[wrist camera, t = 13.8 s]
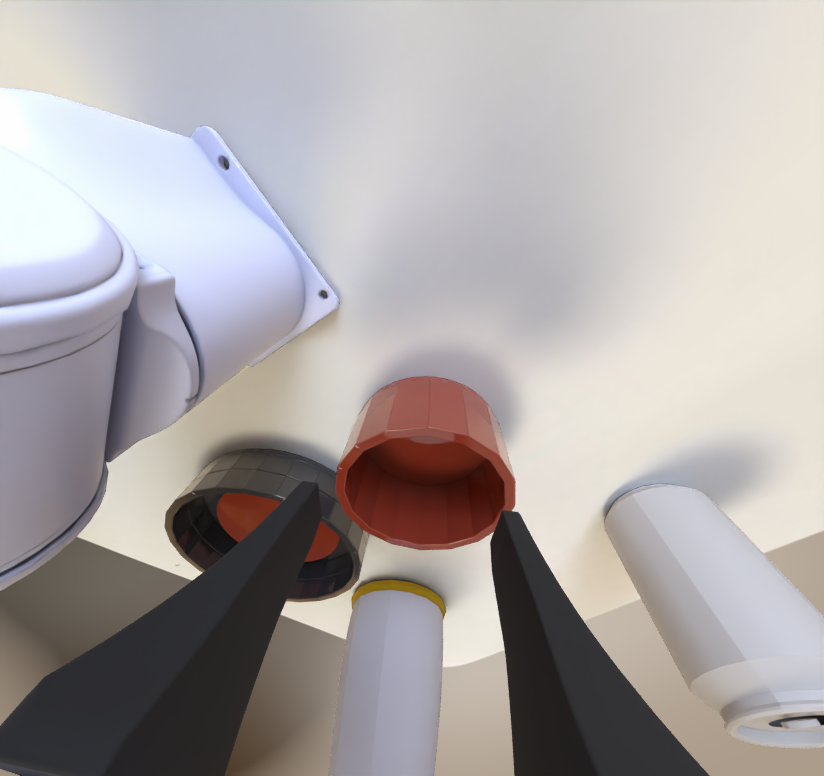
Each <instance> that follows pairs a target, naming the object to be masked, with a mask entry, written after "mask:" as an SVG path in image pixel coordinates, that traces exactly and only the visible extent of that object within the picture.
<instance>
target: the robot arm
mask: <svg viewBox="0 0 824 776" xmlns="http://www.w3.org/2000/svg"><path fill="white" fill-rule="evenodd" d="M225 158H227V159H228V161H229V165H230V167H229V169H228V170H227V169H226V168H225V166H224V159H225ZM322 290H323V291H325V292H326V293H327V295H328V298H324V297H322V295H321V291H322ZM338 307H339V299H338V297H337V296H336V294H335V293H334V291H333V290H332V289H331V287H330V286H329V285H328V283H327V282H326V280H325V279H324V278H323V276H322V275H321V274H320V272H319V271H318V270H317V268H316V267H315V265H314V264H313V263H312V261H311V260H310V259H309V257H308V256H307V254H306V253H305V252H304V250H303V249H302V248H301V246H300V245H299V244H298V242H297V241H296V239H295V238H294V237H293V235H292V234H291V233H290V231H289V230H288V229H287V227H286V226H285V224H284V223H283V222H282V220H281V219H280V218H279V216H278V215H277V213H276V212H275V211H274V209H273V208H272V207H271V205H270V204H269V203H268V201H267V200H266V198H265V197H264V196H263V194H262V193H261V192H260V190H259V189H258V187H257V186H256V185H255V183H254V182H253V181H252V179H251V178H250V177H249V175H248V174H247V172H246V171H245V170H244V168H243V167H242V166H241V164H240V163H239V161H238V160H237V159H236V157H235V156H234V155H233V153H232V152H231V151H230V149H229V148H228V146H227V145H226V144H225V142H224V141H223V140H222V138H221V137H220V136H219V134H218V133H217V132H216V131H215V130H214V129H212V128H210V127H207V126H200V127H198V128H197V129H196V131H195V132H194V133H193V134H192V135H191V137H190V138H189V137H186V136H182V135H179V134H176V133H173V132H170V131H166V130H163V129H160V128H157V127H154V126H151V125H147V124H144V123H141V122H138V121H135V120H131V119H128V118H125V117H122V116H119V115H115V114H112V113H109V112H106V111H103V110H100V109H96V108H93V107H90V106H87V105H84V104H80V103H77V102H74V101H71V100H68V99H64V98H61V97H58V96H55V95H50V94H46V93H42V92H37V91H29V90H21V89H2V88H0V591H1V590H2V589H4V588H6V587H8V586H9V585H11V584H12V583H14V582H16V581H18V580H20V579H22V578H23V577H25V576H27V575H28V574H30V573H32V572H33V571H34V570H36V569H37V568H39V567H40V566H42V565H43V564H44V563H46V562H47V561H49V560H50V559H51V558H53V557H54V556H56V555H57V554H58V553H59V552H60V551H61V550H62V549H63V548H65V547H66V546H67V545H68V544H69V543H70V542H71V541H73V540H74V539H75V538H76V537H77V536H78V534H79V533H80V532H81V531H82V530H83V529H84V528H85V526H86V525H87V524H88V523H89V522H90V521H91V519H92V517H93V516H94V514H95V513H96V511H97V510H98V508H99V506H100V504H101V502H102V499H103V497H104V494H105V492H106V485H107V478H108V469H107V465H106V462H111V461H112V460H114V459H115V458H116V457H118V456H119V455H120V454H122V453H123V452H124V451H126V450H127V449H128V448H130V447H131V446H132V445H134V444H135V443H136V442H138V441H139V440H142V439H144V438H146V437H148V436H151V435H153V434H155V433H157V432H159V431H161V430H163V429H165V428H167V427H169V426H170V425H172V424H173V423H174V422H176V421H177V420H178V419H179V418H181V417H182V416H183V415H185V414H186V413H187V412H189V411H190V410H191V409H192V408H194V407H195V406H196V405H198V404H199V403H200V402H201V401H203V400H204V399H205V398H207V397H208V396H209V395H210V394H212V393H213V392H214V391H215V390H217V389H218V388H219V387H221V386H222V385H223V384H224V383H226V382H227V381H228V380H230V379H231V378H232V377H233V376H235V375H236V374H237V373H239V372H240V371H241V370H242V369H244V368H245V367H246V366H251V367H252V366H254V365H256V364H257V363H259V362H260V361H262V360H263V359H265V358H266V357H268V356H269V355H270V354H272V353H273V352H275V351H276V350H278V349H279V348H281V347H282V346H284V345H285V344H287V343H288V342H289V341H291V340H292V339H294V338H295V337H297V336H298V335H300V334H301V333H303V332H304V331H305V330H307V329H308V328H310V327H311V326H313V325H314V324H316V323H317V322H319V321H320V320H321V319H323V318H324V317H326V316H327V315H329V314H330V313H332V312H333V311H335V310H336V309H337V308H338ZM105 461H106V462H105ZM321 518H322V513H321V505H320V496H319V487H318V483H314V482H307V481H302V482H301V483H300V484H299V485H298V486H297V487H296V488H295V489H294V490H293V491H292V492H291V493H290V494H289V495H288V496H287V497H286V498H285V499H284V500H283V501H282V502H281V503H280V504H279V505H278V506H277V507H276V508H275V509H274V510H273V511H272V512H271V513H270V514H269V515H268V516H267V517H266V518H265V519H264V520H263V521H262V522H261V523H260V524H259V525H258V526H257V527H256V528H255V529H254V530H253V531H251V532H250V533H249V534H248V535H247V536H246V537H245V538H244V539H243V540H241V541H240V542H239V543H238V544H237V545H236V546H235V547H234V548H232V549H231V550H230V551H229V552H228V553H227V554H225V555H224V556H223V557H222V558H221V559H219V560H218V561H217V562H216V563H215V564H213V565H212V566H211V567H210V568H208V569H207V570H206V571H204V572H203V573H202V574H201V575H199V576H198V577H197V578H195V579H194V580H193V581H191V582H190V583H189V584H187V585H186V586H185V587H183V588H182V589H181V590H179V591H178V592H177V593H175V594H174V595H173V596H171V597H170V598H168V599H167V600H166V601H164V602H163V603H161V604H160V605H158V606H157V607H155V608H154V609H153V610H151V611H149V612H148V613H147V614H145V615H143V616H142V617H140V618H139V619H138V620H136V621H134V622H133V623H132V624H130V625H128V626H127V627H125V628H124V629H122V630H121V631H119V632H118V633H116V634H115V635H113V636H112V637H110V638H108V639H107V640H105V641H104V642H102V643H101V644H99V645H97V646H95V647H94V648H92V649H90V650H89V651H87V652H85V653H84V654H82V655H81V656H79V657H77V658H76V659H74V660H72V661H71V662H69V663H67V664H66V665H64V666H62V667H61V668H59V669H57V670H56V671H54V672H52V673H51V674H49V675H47V676H46V677H44V678H43V679H42V680H41V682H39V684H38V685H37V686H36V687H35V688H34V689H33V690H32V691H31V692H30V693H29V694H28V695H27V696H26V698H25V699H24V700H23V701H22V702H21V703H20V704H19V705H18V706H17V708H16V709H15V710H14V711H13V712H12V713H11V714H10V715H9V717H8V718H7V719H6V720H5V721H4V722H3V724H2V725H1V726H0V769H3V770H6V771H9V772H12V773H15V774H18V775H20V776H224V775H225V772H226V769H227V766H228V763H229V759H230V756H231V753H232V750H233V747H234V744H235V741H236V738H237V734H238V731H239V728H240V725H241V722H242V719H243V716H244V713H245V710H246V708H247V704H248V702H249V699H250V695H251V693H252V689H253V687H254V684H255V681H256V678H257V676H258V673H259V670H260V667H261V664H262V662H263V658H264V656H265V653H266V650H267V648H268V645H269V642H270V640H271V637H272V634H273V631H274V629H275V626H276V623H277V621H278V618H279V616H280V614H281V611H282V609H283V607H284V604H285V602H286V600H287V598H288V596H289V594H290V591H291V589H292V587H293V585H294V583H295V581H296V579H297V576H298V574H299V572H300V570H301V568H302V566H303V564H304V561H305V559H306V557H307V555H308V553H309V551H310V548H311V546H312V544H313V541H314V538H315V536H316V533H317V530H318V527H319V524H320V521H321ZM490 545H491V562H492V574H493V580H494V586H495V593H496V599H497V605H498V611H499V617H500V623H501V629H502V635H503V641H504V648H505V654H506V664H507V675H508V687H509V699H510V713H511V725H512V741H513V758H514V774H515V776H709V775H708V774H707V772H706V771H705V770H704V769H703V768H702V767H701V766H700V765H699V764H698V762H697V761H696V760H695V759H694V758H693V757H692V756H691V755H690V754H689V752H688V751H687V750H686V749H685V748H684V747H683V746H682V745H681V743H680V742H679V741H678V740H677V739H676V738H675V736H674V735H673V734H672V733H671V732H670V731H669V729H668V728H667V727H666V726H665V725H664V724H663V723H662V721H661V720H660V719H659V718H658V717H657V716H656V714H655V713H654V712H653V711H652V709H651V708H650V707H649V706H648V705H647V703H646V702H645V701H644V700H643V699H642V697H641V696H640V695H639V694H638V692H637V691H636V690H635V689H634V687H633V686H632V685H631V684H630V682H629V681H628V680H627V679H626V678H625V676H624V675H623V674H622V673H621V671H620V670H619V669H618V668H617V666H616V665H615V663H614V662H613V661H612V660H611V659H610V657H609V656H608V654H607V653H606V652H605V650H604V649H603V648H602V646H601V645H600V644H599V642H598V641H597V639H596V638H595V637H594V635H593V634H592V633H591V631H590V630H589V629H588V627H587V625H586V624H585V623H584V621H583V620H582V618H581V617H580V615H579V614H578V612H577V611H576V609H575V608H574V606H573V605H572V603H571V602H570V600H569V599H568V597H567V596H566V594H565V593H564V591H563V589H562V588H561V586H560V585H559V583H558V581H557V580H556V578H555V576H554V575H553V573H552V571H551V570H550V568H549V566H548V565H547V563H546V561H545V560H544V558H543V556H542V554H541V553H540V551H539V549H538V547H537V545H536V544H535V542H534V540H533V538H532V536H531V534H530V533H529V531H528V529H527V527H526V525H525V523H524V521H523V519H522V517H521V515H520V514H519V513H518V512H513V511H506V510H502V511H501V514H500V517H499V520H498V522H497V525H496V528H495V531H494V534H493V536H492V539H491V542H490Z"/></svg>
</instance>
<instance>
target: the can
mask: <svg viewBox="0 0 824 776" xmlns="http://www.w3.org/2000/svg"><path fill="white" fill-rule="evenodd" d="M604 524H605V531H606V533H607V535H608V537H609V539H610V540H611V542H612V544H613V546H614V548H615V550H616V552H617V554H618V556H619V557H620V559H621V561H622V563H623V565H624V567H625V569H626V571H627V573H628V575H629V576H630V578H631V580H632V582H633V584H634V586H635V588H636V590H637V592H638V593H639V595H640V597H641V599H642V601H643V603H644V605H645V606H646V609H647V610H648V612H649V614H650V616H651V618H652V620H653V622H654V624H655V626H656V627H657V629H658V631H659V633H660V635H661V637H662V639H663V641H664V642H665V644H666V646H667V648H668V650H669V652H670V654H671V656H672V657H673V659H674V662H675V663H676V665H677V667H678V669H679V671H680V673H681V675H682V677H683V678H684V680H685V682H686V684H687V686H688V688H689V690H690V691H691V692H692V693H693V695H694V696H695V697H696V698H698V699H699V700H700V701H702V702H703V703H704V704H706V705H707V706H708V707H710V708H711V709H712V710H714V711H715V712H716V713H718V714H719V715H720V716H722V718H723V719H724V721H725V724H724V728H725V730H726V731H727V732H728V733H729V734H730V735H731V736H732V737H734V738H736V739H739V740H741V741H743V742H747V743H752V744H757V745H763V746H772V747H783V748H785V747H787V748H823V747H824V616H823V615H822V614H821V613H820V612H819V611H818V610H817V609H816V608H815V607H814V606H813V605H812V604H811V603H810V602H809V601H808V600H807V599H806V598H805V596H804V595H803V594H802V593H801V592H800V591H799V590H798V589H797V588H796V587H795V586H794V585H793V584H792V583H791V582H790V581H789V580H788V579H787V578H786V577H785V576H784V575H783V574H782V572H780V570H779V569H778V568H777V567H776V566H775V565H774V564H773V563H772V562H771V561H770V560H769V559H768V558H767V557H766V556H765V555H764V554H763V553H762V552H761V551H760V550H759V549H758V548H757V546H756V545H755V544H754V543H753V542H752V541H751V540H750V539H749V538H748V537H747V536H746V535H745V534H744V533H743V532H742V531H741V530H740V529H739V528H738V527H737V526H736V525H735V524H734V523H733V521H732V520H731V519H730V518H729V517H728V516H727V515H726V514H725V513H724V512H723V511H722V510H721V509H720V508H719V507H718V506H717V505H716V504H715V503H714V502H713V501H712V500H711V499H710V498H709V497H708V496H707V495H705V494H704V493H702V492H701V491H700V490H696V489H692V488H689V487H685V486H675V485H671V484H654V485H647V486H642V487H640V488H637V489H634V490H631V491H629V492H627V493H626V494H624V495H622V496H621V497H619V498H618V499H617V500H616V501H615V502H614V503H613V505H612V507H611V509H610V511H609V512H608V514H607V517H606V519H605V521H604Z"/></svg>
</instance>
